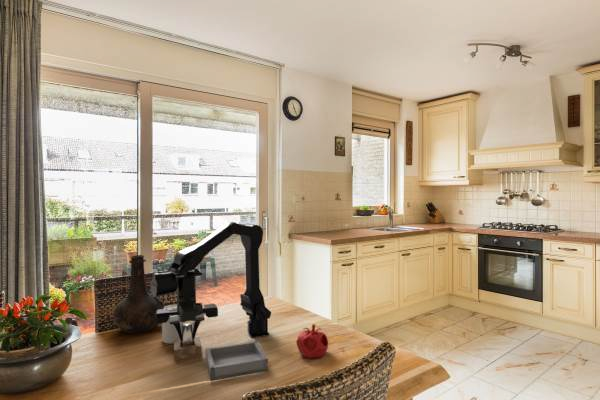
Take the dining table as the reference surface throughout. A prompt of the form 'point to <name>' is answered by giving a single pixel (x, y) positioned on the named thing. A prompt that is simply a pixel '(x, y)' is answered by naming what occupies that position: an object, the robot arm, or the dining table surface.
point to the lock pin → (187, 334)
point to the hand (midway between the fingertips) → (187, 340)
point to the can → (170, 328)
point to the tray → (235, 360)
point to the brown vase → (137, 302)
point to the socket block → (187, 349)
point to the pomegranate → (312, 343)
